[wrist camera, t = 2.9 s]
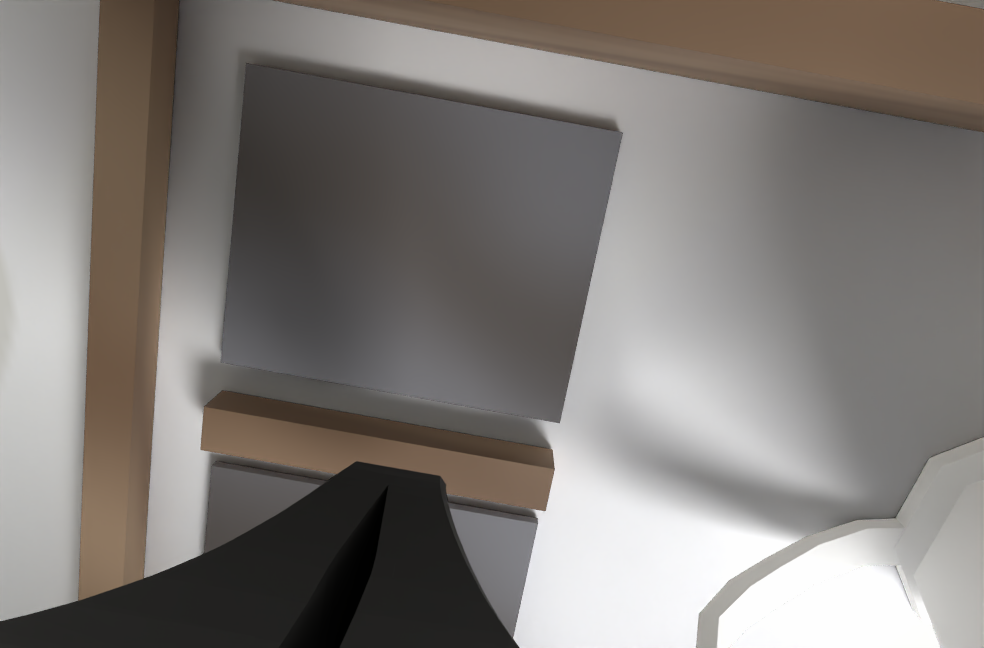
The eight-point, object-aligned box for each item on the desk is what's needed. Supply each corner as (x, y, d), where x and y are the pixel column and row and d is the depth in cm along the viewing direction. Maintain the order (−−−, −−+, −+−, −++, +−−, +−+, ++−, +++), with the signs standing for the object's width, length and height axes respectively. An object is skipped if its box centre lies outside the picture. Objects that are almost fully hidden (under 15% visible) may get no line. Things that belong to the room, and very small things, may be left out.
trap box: (1490, 989, 16) (1710, 1183, 13) (94, 748, 15) (-5, 893, 12) (2024, 256, 12) (2527, 299, 9) (132, -97, 11) (-3, -177, 8)
